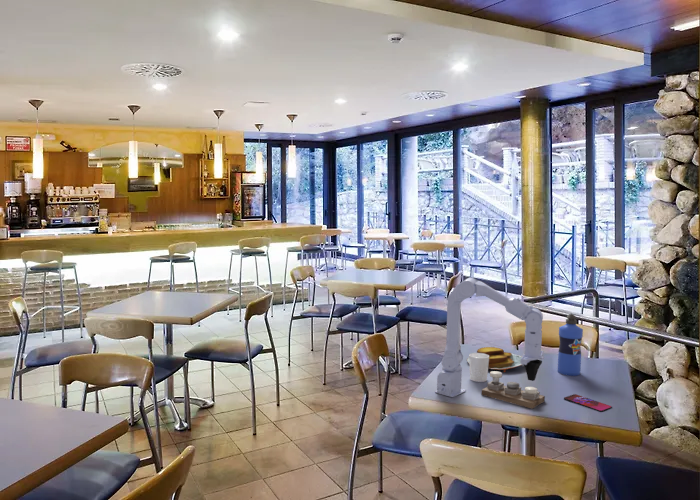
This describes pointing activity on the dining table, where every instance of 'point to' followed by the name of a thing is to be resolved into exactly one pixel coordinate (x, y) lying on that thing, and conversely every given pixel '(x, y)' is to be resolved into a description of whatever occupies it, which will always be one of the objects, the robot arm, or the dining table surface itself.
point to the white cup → (478, 366)
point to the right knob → (531, 390)
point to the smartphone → (587, 402)
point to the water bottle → (570, 347)
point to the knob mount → (512, 394)
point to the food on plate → (500, 358)
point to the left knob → (496, 375)
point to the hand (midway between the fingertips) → (531, 379)
